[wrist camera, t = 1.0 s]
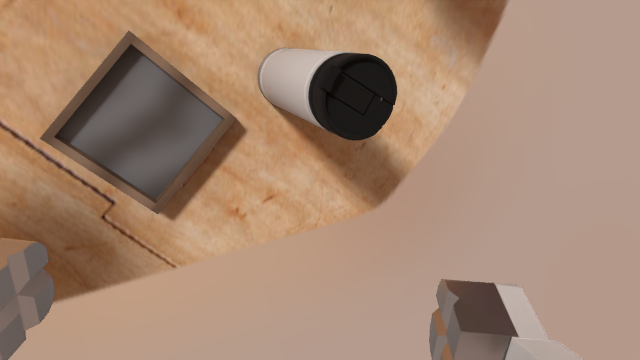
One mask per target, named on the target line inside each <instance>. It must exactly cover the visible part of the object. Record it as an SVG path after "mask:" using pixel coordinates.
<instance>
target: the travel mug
mask: <svg viewBox="0 0 640 360" xmlns="http://www.w3.org/2000/svg"><path fill="white" fill-rule="evenodd" d="M258 84H259V88H260V90H261V92H262V94H263V96H264V97H265V98H266V99H267V100H268V101H269V102H271V103H272V104H274V105H276V106H278V107H280V108H282V109H284V110H286V111H288V112H290V113H292V114H294V115H296V116H298V117H300V118H302V119H304V120H306V121H308V122H310V123H312V124H314V125H316V126H318V127H320V128H322V129H324V130H326V131H329V132H331V133H333V134H336V135H338V136H340V137H343V138H345V139H348V140H363V139H366V138H369V137H371V136H373V135H375V134H376V133H377V132H378V131H379V130H380V129H381V128H382V127H381V126H383V125H384V124H385V123H386V121H387V120H388V118H389V117H390V115H391V112H392V110H393V105H395V101H396V97H397V85H396V80H395V77H394V75H393V72H392V70H391V69H390V68H389V66H388V65H387V64H386V63H385V62H384V61H383V60H382V59H380V58H378V57H376V56H373V55H370V54H359V53H353V52H340V51H325V50H309V49H293V48H282V49H277V50H275V51H273V52H271V53H270V54H268V55H267V56H266V58H265V59H264V60H263V62H262V63H261V65H260V68H259V72H258Z"/></svg>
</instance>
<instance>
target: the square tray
mask: <svg viewBox="0 0 640 360" xmlns="http://www.w3.org/2000/svg"><path fill="white" fill-rule="evenodd" d="M236 119H237V118H235V117H234V116H233V115H232V114H231V113H229V112H228V111H227V110H226V109H224V108H223V107H222V106H221V105H220V104H218V103H217V102H216V101H215V100H213V99H212V98H211V97H210V96H209V95H207V94H206V93H205V92H204V91H202V90H201V89H200V88H199V87H197V86H196V85H195V84H194V83H193V82H191V81H190V80H189V79H188V78H186V77H185V76H184V75H183V74H182V73H180V72H179V71H178V70H177V69H175V68H174V67H173V66H172V65H171V64H169V63H168V62H167V61H166V60H164V59H163V58H162V57H161V56H160V55H158V54H157V53H156V52H155V51H153V50H152V49H151V48H150V47H149V46H147V45H146V44H145V43H144V42H142V41H141V40H140V39H139V38H138V37H136V36H135V35H134V34H133V33H131V32H130V31H128V32H127V33H126V35H125V36H124V37H123V38H122V40H121V41H120V42H119V43H118V44H117V46H116V47H115V48H114V49H113V50H112V52H111V53H110V54H109V55H108V56H107V58H106V59H105V60H104V61H103V63H102V64H101V65H100V66H99V67H98V69H97V70H96V71H95V72H94V73H93V75H92V76H91V77H90V78H89V80H88V81H87V82H86V83H85V84H84V86H83V87H82V88H81V89H80V90H79V92H78V93H77V94H76V95H75V96H74V98H73V99H72V100H71V101H70V103H69V104H68V105H67V106H66V107H65V109H64V110H63V111H62V112H61V113H60V115H59V116H58V117H57V118H56V119H55V121H54V122H53V123H52V124H51V126H50V127H49V128H48V129H47V130H46V132H45V133H44V134H43V135H42V136H41V138H40V139H41V140H43V141H45V142H46V143H48V144H49V145H51V146H52V147H54V148H55V149H57V150H59V151H60V152H62V153H63V154H65V155H66V156H68V157H69V158H71V159H73V160H74V161H76V162H77V163H79V164H80V165H82V166H84V167H85V168H87V169H88V170H90V171H91V172H93V173H94V174H96V175H98V176H99V177H101V178H102V179H104V180H105V181H107V182H108V183H110V184H112V185H113V186H115V187H116V188H118V189H119V190H121V191H122V192H124V193H126V194H127V195H129V196H130V197H132V198H133V199H135V200H136V201H138V202H140V203H141V204H143V205H144V206H146V207H147V208H149V209H150V210H152V211H154V212H155V213H157V214H158V213H159V212H160V211H161V210H162V209H163V207H164V206H165V205H166V204H167V202H168V201H169V200H170V199H171V198H172V196H173V195H174V194H175V193H176V192H177V190H178V189H179V188H180V187H181V185H183V186H184V185H185V184H186V182H187V181H188V180H189V179H190V178H191V176H192V175H193V174H194V173H195V172H196V170H197V169H198V168H199V167H200V165H201V164H202V163H203V162H204V161H205V159H206V158H207V157H208V156H209V154H210V153H211V152H212V151H213V150H214V147H213V146H214V145H215V144H216V143H217V142H218V140H219V139H220V138H221V137H222V136H223V134H224V133H225V132H226V131H227V129H228V128H229V127H230V126H231V125H232V123H233V122H234V121H235V120H236Z"/></svg>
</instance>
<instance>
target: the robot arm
mask: <svg viewBox="0 0 640 360" xmlns="http://www.w3.org/2000/svg"><path fill="white" fill-rule="evenodd" d="M48 261H49V258H48V254H47V250H46V246H44V245H43V244H41V243H40V242H36V241H27V240H18V239H9V238H0V360H8V359H9V358H10V357H11V356H12V355H13V353H14V352H15V351H16V350H17V349H18V348H19V346H20V345H21V344H22V343H23V342H24V341H25V340H26V336H25V330H27V329H29V328H31V327H33V326H35V325H37V324H39V323H40V322H41V321H42V320H43V319H44V317H45V316H46V315H47V313H48V312H49V310H50V307H51V305H52V302H53V300H54V283H53V278H52V277H51V276H50V275H49V274H48V273H47V272H46V270H45V269H44V267H45V265H46V264H47V262H48ZM436 296H437V301H438V305H439V308H438V309H437V310H436V311H435V312H433V314H432V319H431V324H430V339H429V342H430V351H431V356H432V360H584V359H582V358H581V357H580V356H578V355H577V354H575V353H574V352H573V351H571V350H570V349H568V348H567V347H565V346H564V345H562V344H561V343H560V342H558V341H550V339H549V338H548V336H547V334H546V332H545V330H544V328H543V327H542V325H541V323H540V321H539V319H538V318H537V316H536V314H535V312H534V310H533V308H532V307H531V305H530V303H529V301H528V299H527V297H526V296H525V294H524V292H523V290H522V288H521V287H520V286H519V285H517V284H511V283H493V282H492V283H485V282H472V281H460V280H446V279H441V281H440V283H439V286H438V290H437V294H436Z"/></svg>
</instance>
